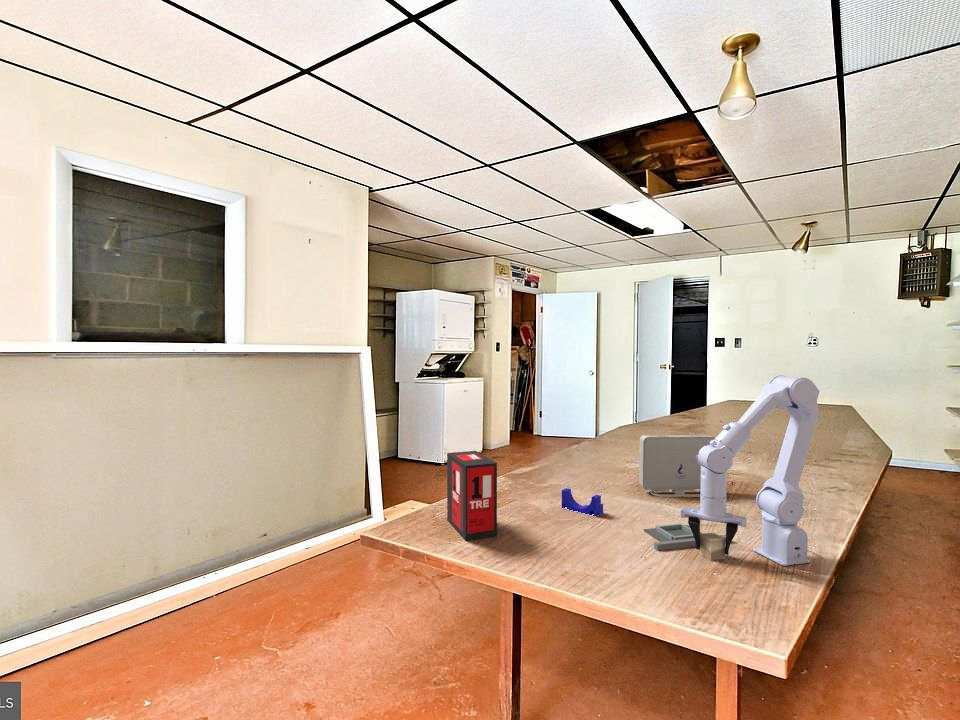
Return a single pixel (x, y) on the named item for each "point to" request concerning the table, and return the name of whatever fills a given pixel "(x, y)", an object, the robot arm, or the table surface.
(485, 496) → the cleaning product box
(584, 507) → the blue notched block
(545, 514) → the table surface
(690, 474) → the network device
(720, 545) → the block
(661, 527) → the keeper cradle
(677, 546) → the rail
